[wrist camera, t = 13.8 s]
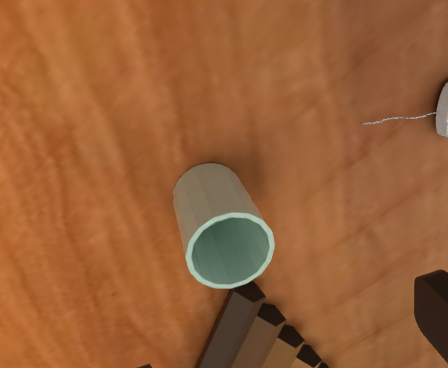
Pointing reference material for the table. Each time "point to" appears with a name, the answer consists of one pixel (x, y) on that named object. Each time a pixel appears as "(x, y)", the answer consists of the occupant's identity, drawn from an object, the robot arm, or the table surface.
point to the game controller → (444, 116)
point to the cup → (220, 227)
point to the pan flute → (254, 336)
